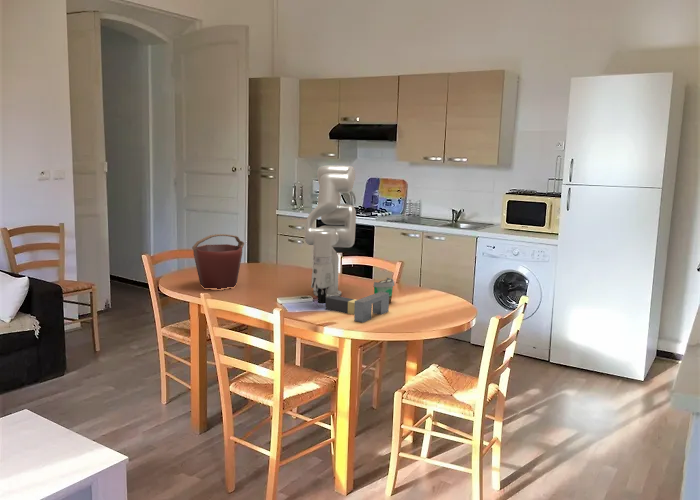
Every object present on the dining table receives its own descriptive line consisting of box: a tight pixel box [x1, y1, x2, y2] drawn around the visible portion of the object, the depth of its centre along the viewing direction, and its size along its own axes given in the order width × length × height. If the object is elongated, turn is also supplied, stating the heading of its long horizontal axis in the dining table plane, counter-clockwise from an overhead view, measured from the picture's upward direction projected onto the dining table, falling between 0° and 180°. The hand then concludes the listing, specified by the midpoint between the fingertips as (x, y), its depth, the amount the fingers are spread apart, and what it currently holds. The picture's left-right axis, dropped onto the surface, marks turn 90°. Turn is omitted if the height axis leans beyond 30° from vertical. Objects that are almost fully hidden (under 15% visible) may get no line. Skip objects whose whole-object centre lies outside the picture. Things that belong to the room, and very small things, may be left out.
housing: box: [353, 292, 390, 323], centre depth 247 cm, size 4×20×8 cm, turn 147°
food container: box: [372, 277, 395, 305], centre depth 269 cm, size 12×6×10 cm, turn 148°
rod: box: [325, 295, 357, 316], centre depth 255 cm, size 14×5×5 cm, turn 57°
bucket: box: [191, 233, 245, 289], centre depth 291 cm, size 24×22×25 cm
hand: (321, 303), depth 261 cm, fingers closed
